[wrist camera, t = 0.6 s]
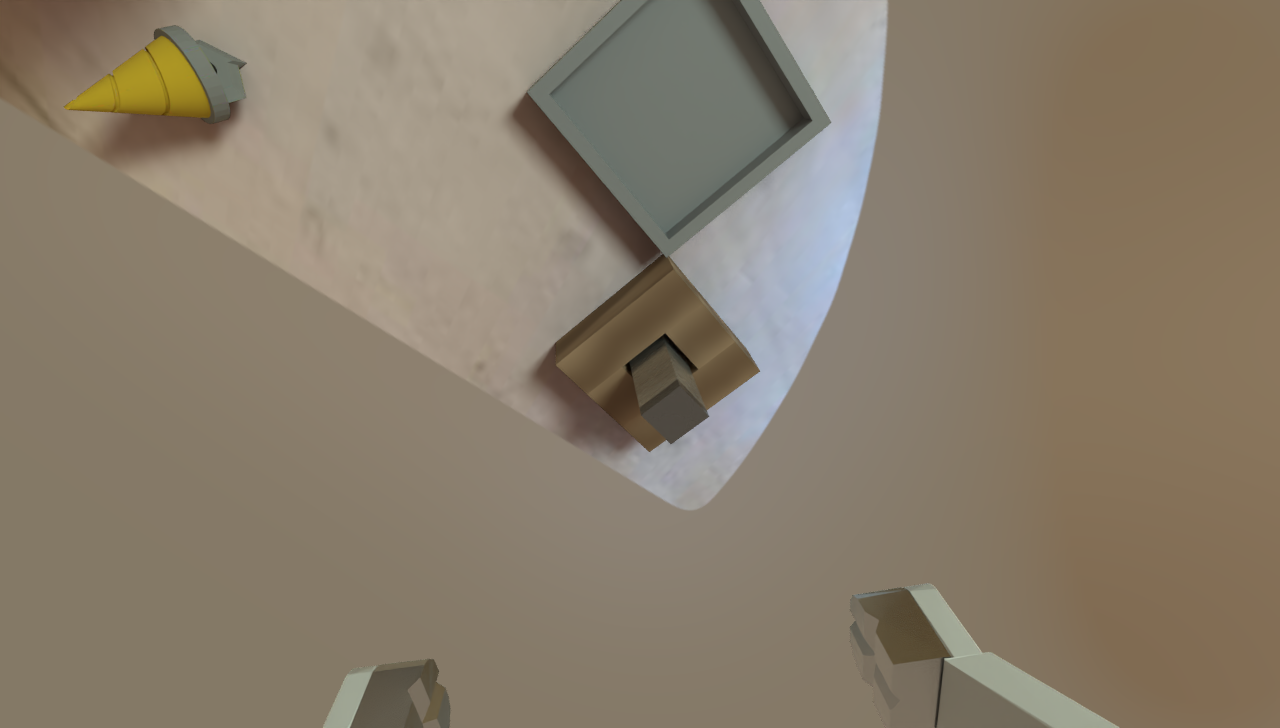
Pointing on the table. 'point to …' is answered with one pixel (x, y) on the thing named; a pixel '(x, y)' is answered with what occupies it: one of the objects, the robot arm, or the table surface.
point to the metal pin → (667, 389)
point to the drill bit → (169, 81)
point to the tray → (681, 108)
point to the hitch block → (635, 323)
